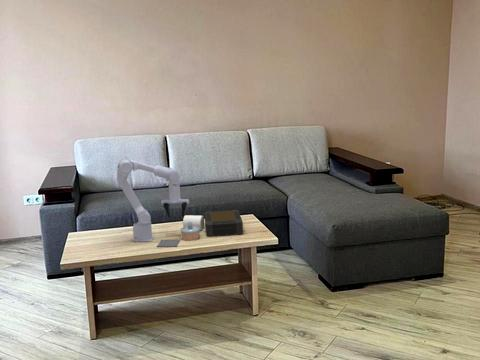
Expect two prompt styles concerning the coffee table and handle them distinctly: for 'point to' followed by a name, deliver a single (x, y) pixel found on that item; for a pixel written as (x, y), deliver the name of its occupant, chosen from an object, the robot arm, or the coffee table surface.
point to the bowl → (190, 236)
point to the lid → (190, 228)
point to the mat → (168, 243)
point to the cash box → (223, 223)
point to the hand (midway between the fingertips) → (176, 216)
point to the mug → (194, 221)
